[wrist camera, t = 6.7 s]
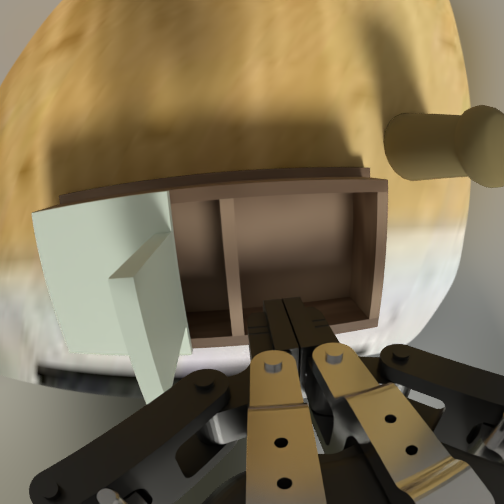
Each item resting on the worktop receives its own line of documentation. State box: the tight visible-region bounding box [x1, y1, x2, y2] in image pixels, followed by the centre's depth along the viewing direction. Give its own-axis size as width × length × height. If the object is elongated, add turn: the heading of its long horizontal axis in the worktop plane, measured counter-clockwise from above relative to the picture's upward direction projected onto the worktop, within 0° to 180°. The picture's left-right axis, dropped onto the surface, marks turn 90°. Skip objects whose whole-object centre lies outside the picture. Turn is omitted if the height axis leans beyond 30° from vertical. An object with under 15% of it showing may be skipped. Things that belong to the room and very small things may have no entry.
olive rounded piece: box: [384, 105, 504, 188], centre depth 16 cm, size 6×6×11 cm
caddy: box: [32, 167, 388, 348], centre depth 20 cm, size 12×24×5 cm, turn 93°
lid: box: [32, 191, 193, 404], centre depth 13 cm, size 11×10×8 cm
